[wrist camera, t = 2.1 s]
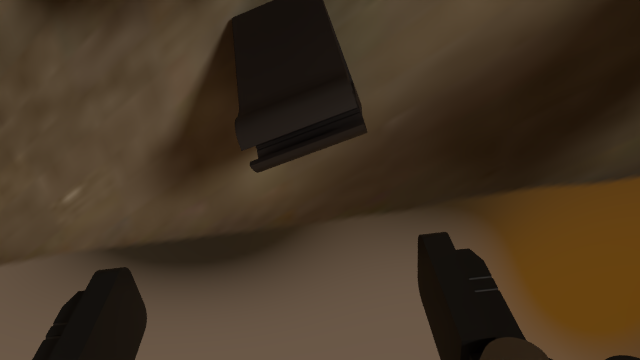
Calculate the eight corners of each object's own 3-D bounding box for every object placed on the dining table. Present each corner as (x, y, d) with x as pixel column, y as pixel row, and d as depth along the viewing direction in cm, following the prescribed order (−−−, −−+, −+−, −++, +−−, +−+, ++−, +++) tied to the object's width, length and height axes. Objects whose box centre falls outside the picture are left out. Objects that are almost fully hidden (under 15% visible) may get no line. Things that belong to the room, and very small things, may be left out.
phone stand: (360, 103, 34) (388, 190, 24) (285, 130, 35) (281, 226, 25) (316, -20, 30) (328, 23, 19) (232, 16, 30) (200, 75, 20)
